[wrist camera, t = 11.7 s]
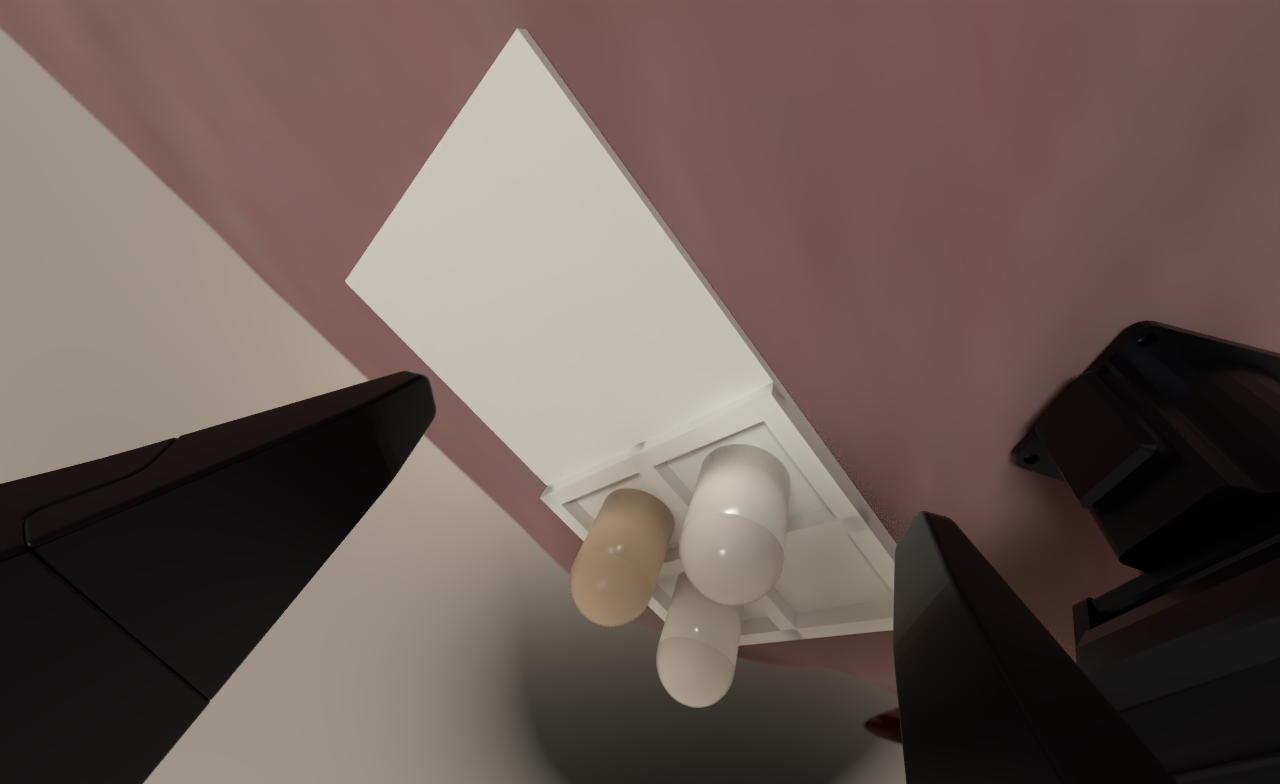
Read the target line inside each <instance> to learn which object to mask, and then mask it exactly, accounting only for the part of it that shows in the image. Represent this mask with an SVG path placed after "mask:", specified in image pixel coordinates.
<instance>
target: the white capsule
mask: <svg viewBox="0 0 1280 784" xmlns="http://www.w3.org/2000/svg"><path fill="white" fill-rule="evenodd" d="M743 611H744V605H738V606H734V605H725V604H721V603H718V602H715V601H713V600H711V599H709V598H707V597H706V596H704V595H703V594H701V593H700V592H699V591H698V590H697V589H696V588H695V587H694V586H693V585H692V583H691V582H690V580H689V579H688V577H687V576H686V574H685V571H684V572H682V573H681V574H680V575H679V576H678V578H677V581H676V585H675V588H674V592H673V595H672V599H671V602H670V606H669V609H668V613H667V616H666V620H665V624H664V627H663V631H662V634H661V638H660V641H659V645H658V649H657V655H656V662H657V663H656V664H657V670H658V674H659V678H660V680H661V682H662V684H663V686H664V687H665V689H666V690H667V692H668V693H669V694H670V695H671V696H672V697H673V698H674V699H675V700H677V701H678V702H680V703H682V704H684V705H686V706H689V707H697V708H701V707H706V706H710V705H712V704H714V703H716V702H717V701H719V700H720V699H721V698H722V697H723V696H724V695H725V694H726V693H727V691H728V690H729V688H730V686H731V683H732V681H733V677H734V672H735V666H736V659H737V652H738V645H739V639H740V632H741V625H742V618H743Z"/></svg>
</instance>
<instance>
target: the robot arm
mask: <svg viewBox="0 0 1280 784" xmlns="http://www.w3.org/2000/svg"><path fill="white" fill-rule="evenodd" d="M1148 333H1152V335H1151V337H1150V338H1148V339H1147V340H1144V341H1141V342H1137V341H1138V339H1139V338H1140V337H1141V336H1143V335H1145V334H1148ZM435 414H436V404H435V400H434V396H433V392H432V388H431V383H430V380H429V379H428V377H427V376H425V375H424V374H420V373H417V372H413V371H402V372H398V373H395V374H391V375H388V376H384V377H381V378H377V379H374V380H371V381H367V382H364V383H360V384H357V385H353V386H350V387H347V388H343V389H340V390H337V391H333V392H330V393H326V394H323V395H319V396H316V397H312V398H309V399H306V400H302V401H299V402H295V403H292V404H289V405H285V406H282V407H278V408H275V409H272V410H268V411H264V412H261V413H258V414H254V415H251V416H247V417H244V418H240V419H237V420H233V421H230V422H227V423H224V424H220V425H216V426H213V427H209V428H206V429H203V430H199V431H196V432H192V433H189V434H185V435H182V436H180V437H179V438H178V439H177V438H172V439H168V440H164V441H161V442H158V443H154V444H151V445H148V446H144V447H140V448H137V449H133V450H130V451H126V452H122V453H119V454H115V455H112V456H108V457H105V458H102V459H97V460H94V461H90V462H86V463H82V464H78V465H74V466H70V467H66V468H62V469H59V470H55V471H51V472H47V473H43V474H39V475H35V476H31V477H27V478H23V479H18V480H15V481H10V482H6V483H3V484H0V784H143V783H144V782H145V780H146V779H147V778H148V777H149V776H150V774H151V773H152V772H153V771H154V769H155V768H156V767H157V766H158V765H159V763H160V762H161V761H162V760H163V759H164V757H165V756H166V755H167V754H168V753H169V751H170V750H171V749H172V748H173V746H174V745H175V744H176V743H177V741H178V740H179V739H180V738H181V737H182V735H183V734H184V733H185V732H186V731H187V729H188V728H189V727H190V726H191V725H192V723H193V722H194V721H195V720H196V719H197V717H198V716H199V715H200V714H201V712H202V711H203V710H204V709H205V708H206V706H207V705H208V704H209V703H210V700H211V699H212V698H213V697H214V696H215V695H216V694H217V693H218V691H219V690H220V689H221V688H222V686H223V685H224V684H225V683H226V682H227V680H228V679H229V678H230V677H231V676H232V674H233V673H234V672H235V671H236V669H237V668H238V667H239V666H240V665H241V663H242V662H243V661H244V660H245V659H246V657H247V656H248V655H249V654H250V653H251V651H252V650H253V649H254V647H256V645H257V644H258V643H259V642H260V641H261V639H262V638H263V637H264V636H265V634H266V633H267V632H268V631H269V630H270V628H271V627H272V626H273V625H274V624H275V622H276V621H277V620H278V619H279V617H280V616H281V615H282V614H283V613H284V611H285V610H286V609H287V608H288V607H289V605H290V604H291V603H292V602H293V600H294V599H295V598H296V597H297V596H298V594H299V593H300V592H301V591H302V590H303V588H304V587H305V586H306V585H307V584H308V582H309V581H310V580H311V579H312V578H313V576H314V575H315V574H316V573H317V571H318V570H319V569H320V568H321V567H322V565H323V564H324V563H325V562H326V560H327V559H328V558H329V557H330V555H331V554H332V553H333V552H334V551H335V550H336V548H337V547H338V546H339V545H340V544H341V542H342V541H343V540H344V539H345V538H346V536H347V535H348V534H349V533H350V531H351V530H352V529H353V528H354V527H355V525H356V524H357V523H358V522H359V521H360V519H361V518H362V517H363V516H364V515H365V513H366V512H367V511H368V509H369V508H370V507H371V506H372V505H373V504H374V502H375V501H376V500H377V499H378V498H379V496H380V495H381V494H382V493H383V491H384V490H385V489H386V488H387V486H388V485H389V484H390V483H391V481H392V480H393V479H394V477H395V476H396V474H397V473H398V472H399V470H400V469H401V467H402V466H403V464H404V463H405V461H406V460H407V458H408V457H409V455H410V454H411V452H412V451H413V449H414V448H415V446H416V445H417V443H418V442H419V440H420V439H421V437H422V436H423V434H424V433H425V431H426V430H427V428H428V427H429V425H430V424H431V422H432V421H433V419H434V417H435ZM1034 426H1035V427H1034V428H1033V429H1032V430H1031V431H1030V433H1029V434H1028V435H1027V436H1026V437H1025V438H1024V439H1023V440H1022V441H1021V442H1020V443H1019V444H1018V445H1017V446H1016V448H1015V449H1014V450H1013V457H1014V459H1015V461H1016V463H1017V464H1018V466H1020V467H1022V468H1025V469H1028V470H1031V471H1034V472H1037V473H1041V474H1044V475H1047V476H1050V477H1053V478H1057V479H1060V480H1063V481H1065V482H1066V483H1067V485H1068V487H1069V488H1070V490H1071V492H1072V493H1073V495H1074V497H1075V499H1076V500H1077V502H1078V504H1079V505H1080V506H1081V507H1082V508H1085V509H1088V510H1089V512H1090V513H1091V515H1092V517H1093V518H1094V520H1095V522H1096V523H1097V525H1098V527H1099V528H1100V530H1101V532H1102V533H1103V535H1104V537H1105V538H1106V540H1107V542H1108V543H1109V545H1110V547H1111V548H1112V550H1113V552H1114V553H1115V555H1116V557H1117V558H1118V560H1119V562H1121V563H1122V564H1124V565H1127V566H1130V567H1133V568H1136V569H1138V570H1139V571H1140V573H1141V575H1140V576H1138V577H1136V578H1134V579H1132V580H1130V581H1128V582H1126V583H1124V584H1122V585H1120V586H1118V587H1117V588H1115V589H1113V590H1111V591H1109V592H1107V593H1105V594H1103V595H1101V596H1099V597H1097V598H1095V599H1093V598H1086V599H1084V600H1082V601H1081V602H1079V603H1077V604H1075V605H1073V620H1074V632H1075V645H1076V660H1077V664H1076V663H1075V662H1074V661H1073V660H1072V658H1071V657H1070V656H1069V655H1068V654H1067V653H1066V652H1065V650H1064V649H1063V648H1062V647H1061V646H1060V645H1059V643H1058V642H1057V641H1056V640H1055V639H1054V638H1053V636H1052V635H1051V634H1050V633H1049V632H1048V631H1047V629H1046V628H1045V627H1044V626H1043V625H1042V624H1041V622H1040V621H1039V620H1038V619H1037V618H1036V617H1035V615H1034V614H1033V613H1032V612H1031V611H1030V610H1029V609H1028V607H1027V606H1026V605H1025V604H1024V603H1023V602H1022V600H1021V599H1020V598H1019V597H1018V596H1017V595H1016V593H1015V592H1014V591H1013V590H1012V589H1011V588H1010V586H1009V585H1008V584H1007V583H1006V582H1005V581H1004V579H1003V578H1002V577H1001V576H1000V575H999V574H998V572H997V571H996V570H995V569H994V568H993V567H992V565H991V564H990V563H989V562H988V561H987V560H986V559H985V557H984V556H983V555H982V554H981V553H980V552H979V550H978V549H977V548H976V547H975V546H974V545H973V543H972V542H971V541H970V540H969V539H968V538H967V536H966V535H965V534H964V533H963V532H962V531H961V529H960V528H959V527H958V526H957V525H956V524H955V523H954V522H953V521H952V520H951V519H950V518H948V517H945V516H941V515H938V514H934V513H930V512H927V511H922V512H919V513H918V514H917V515H916V516H915V517H914V519H913V520H912V522H911V523H910V525H909V526H908V528H907V529H906V531H905V532H904V534H903V535H902V537H901V538H900V539H899V541H898V543H897V546H896V549H895V562H894V610H893V651H894V665H895V675H896V685H897V694H898V704H899V714H900V724H901V734H902V744H903V754H904V764H905V774H906V783H907V784H1280V354H1279V353H1275V352H1271V351H1267V350H1264V349H1260V348H1256V347H1252V346H1248V345H1244V344H1240V343H1236V342H1232V341H1229V340H1225V339H1221V338H1217V337H1213V336H1209V335H1205V334H1201V333H1198V332H1194V331H1190V330H1186V329H1182V328H1178V327H1174V326H1170V325H1167V324H1163V323H1159V322H1155V321H1142V322H1137V323H1135V324H1133V325H1131V326H1129V327H1128V328H1127V329H1125V330H1124V331H1123V332H1122V333H1121V335H1120V336H1119V337H1118V338H1117V339H1116V340H1115V341H1114V342H1113V343H1112V344H1111V345H1110V346H1109V347H1108V349H1107V350H1106V351H1105V352H1104V353H1103V354H1102V355H1101V356H1100V357H1099V358H1098V359H1097V360H1096V361H1095V363H1094V364H1093V365H1092V366H1091V367H1090V368H1089V369H1088V370H1087V371H1086V372H1085V373H1083V374H1081V375H1080V376H1079V377H1078V378H1077V379H1076V380H1075V381H1074V382H1073V383H1072V384H1071V386H1070V387H1069V388H1068V389H1067V390H1066V391H1065V392H1064V393H1063V394H1062V395H1061V396H1060V397H1059V399H1058V400H1057V401H1056V402H1055V403H1054V404H1053V405H1052V406H1051V407H1050V408H1049V409H1048V410H1047V411H1046V413H1045V414H1044V415H1043V416H1042V417H1041V418H1040V419H1039V420H1038V421H1037V422H1036V423H1035V425H1034ZM1031 454H1034V456H1032V457H1028V458H1026V457H1025V456H1027V455H1031Z"/></svg>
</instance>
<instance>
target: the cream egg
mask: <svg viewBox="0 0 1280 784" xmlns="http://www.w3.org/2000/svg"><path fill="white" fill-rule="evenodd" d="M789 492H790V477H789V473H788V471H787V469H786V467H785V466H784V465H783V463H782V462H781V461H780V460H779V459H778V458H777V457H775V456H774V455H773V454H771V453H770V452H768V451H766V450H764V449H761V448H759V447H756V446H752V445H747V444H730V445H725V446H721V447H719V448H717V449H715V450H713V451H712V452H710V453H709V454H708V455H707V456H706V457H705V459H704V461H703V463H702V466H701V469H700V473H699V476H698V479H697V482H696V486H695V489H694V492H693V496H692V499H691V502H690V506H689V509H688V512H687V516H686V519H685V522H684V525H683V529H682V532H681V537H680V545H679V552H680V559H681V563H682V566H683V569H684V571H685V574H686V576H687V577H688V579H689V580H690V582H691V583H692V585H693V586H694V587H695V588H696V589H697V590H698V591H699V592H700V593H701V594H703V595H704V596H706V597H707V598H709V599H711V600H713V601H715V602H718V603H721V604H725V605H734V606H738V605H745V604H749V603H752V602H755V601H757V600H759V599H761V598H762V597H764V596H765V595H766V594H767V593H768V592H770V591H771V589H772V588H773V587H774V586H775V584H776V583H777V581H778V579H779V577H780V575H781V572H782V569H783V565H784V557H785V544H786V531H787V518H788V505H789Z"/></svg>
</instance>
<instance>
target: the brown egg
mask: <svg viewBox="0 0 1280 784" xmlns="http://www.w3.org/2000/svg"><path fill="white" fill-rule="evenodd" d="M674 526H675V522H674V517H673V515H672V513H671V511H670V510H669V508H668V507H667V506H666V505H665V504H664V503H663V502H662V501H661V500H659V499H658V498H656V497H655V496H653V495H651V494H649V493H647V492H644V491H641V490H637V489H631V488H624V489H618V490H615V491H613V492H611V493H610V494H609V495H608V496H607V497H606V499H605V501H604V503H603V505H602V507H601V509H600V511H599V513H598V515H597V517H596V519H595V521H594V523H593V525H592V527H591V529H590V531H589V533H588V535H587V537H586V539H585V541H584V543H583V545H582V547H581V549H580V551H579V553H578V555H577V557H576V559H575V561H574V563H573V566H572V569H571V573H570V591H571V595H572V598H573V601H574V603H575V605H576V607H577V609H578V610H579V611H580V612H581V614H582V615H583V616H584V617H586V618H587V619H588V620H590V621H591V622H593V623H595V624H597V625H601V626H605V627H618V626H622V625H625V624H627V623H630V622H632V621H633V620H635V619H636V618H637V617H638V616H640V615H641V614H642V612H643V611H644V610H645V609H646V607H647V606H648V604H649V602H650V600H651V597H652V595H653V592H654V589H655V586H656V582H657V579H658V576H659V573H660V570H661V567H662V564H663V561H664V558H665V555H666V551H667V548H668V545H669V542H670V539H671V536H672V533H673V530H674Z"/></svg>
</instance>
